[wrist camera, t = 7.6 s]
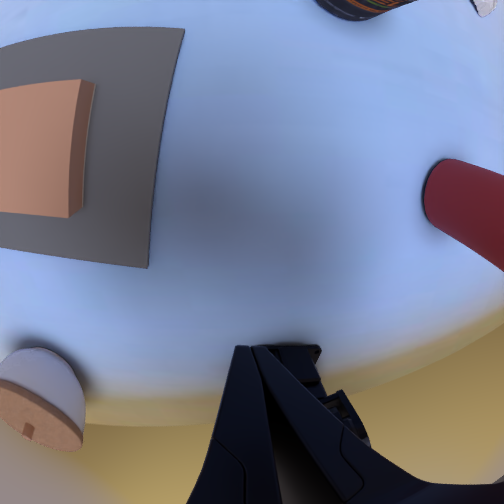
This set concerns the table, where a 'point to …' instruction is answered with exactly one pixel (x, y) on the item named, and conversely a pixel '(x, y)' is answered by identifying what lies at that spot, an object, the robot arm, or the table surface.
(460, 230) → the beer can
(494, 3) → the pincushion
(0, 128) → the tile
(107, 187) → the mat
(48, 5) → the table surface
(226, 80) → the table surface
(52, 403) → the lidded jar
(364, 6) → the pill bottle
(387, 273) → the table surface
